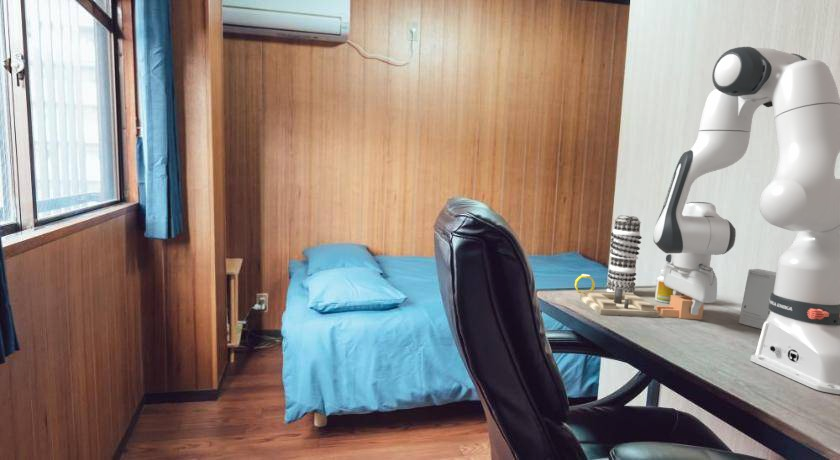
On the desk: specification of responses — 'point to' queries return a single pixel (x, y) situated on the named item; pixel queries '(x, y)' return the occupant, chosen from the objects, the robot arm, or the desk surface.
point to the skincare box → (757, 297)
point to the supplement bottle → (662, 290)
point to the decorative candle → (624, 254)
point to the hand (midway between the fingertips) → (685, 310)
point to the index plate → (618, 303)
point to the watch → (584, 277)
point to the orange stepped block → (679, 308)
